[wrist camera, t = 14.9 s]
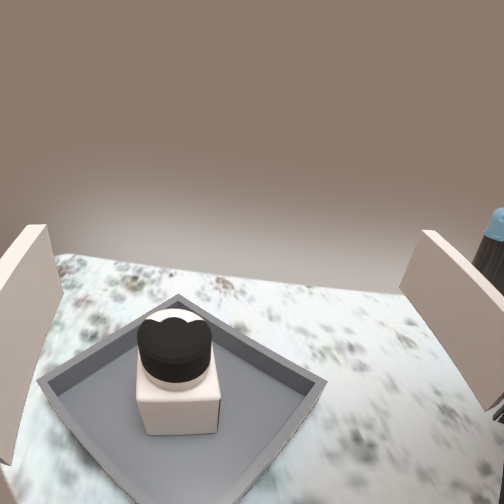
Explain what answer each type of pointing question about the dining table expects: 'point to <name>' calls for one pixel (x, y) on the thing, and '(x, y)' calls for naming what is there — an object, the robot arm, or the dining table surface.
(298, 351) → the dining table surface
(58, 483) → the dining table surface
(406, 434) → the dining table surface
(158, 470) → the box
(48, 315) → the robot arm
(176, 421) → the medicine bottle
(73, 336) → the dining table surface
